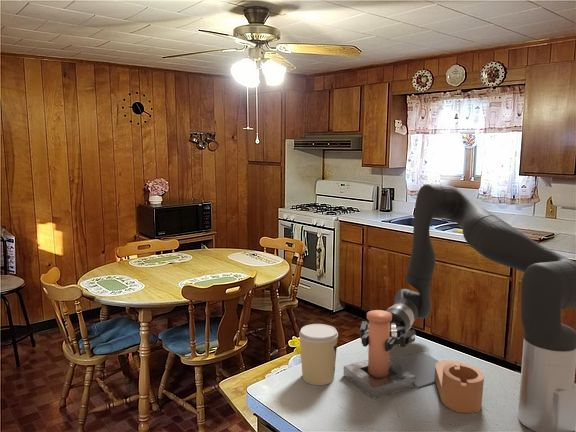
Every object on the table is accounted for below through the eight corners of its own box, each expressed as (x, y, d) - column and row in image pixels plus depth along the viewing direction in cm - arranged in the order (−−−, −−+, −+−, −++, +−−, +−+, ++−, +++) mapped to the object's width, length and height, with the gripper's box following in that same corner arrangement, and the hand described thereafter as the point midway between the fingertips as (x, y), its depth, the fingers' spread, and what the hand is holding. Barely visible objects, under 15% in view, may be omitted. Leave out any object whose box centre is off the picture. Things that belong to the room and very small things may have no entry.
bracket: (485, 414, 95) (488, 384, 94) (444, 410, 96) (446, 380, 95) (467, 372, 113) (469, 346, 111) (432, 369, 114) (433, 343, 113)
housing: (414, 386, 107) (415, 376, 106) (373, 398, 101) (373, 388, 101) (382, 365, 117) (382, 355, 117) (343, 375, 112) (343, 365, 112)
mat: (461, 374, 112) (461, 373, 112) (417, 388, 106) (418, 386, 106) (421, 352, 124) (421, 351, 124) (380, 363, 118) (380, 362, 118)
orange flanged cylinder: (395, 377, 107) (397, 316, 105) (376, 382, 105) (377, 320, 103) (380, 367, 112) (381, 308, 110) (361, 372, 110) (361, 312, 108)
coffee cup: (344, 383, 108) (344, 334, 107) (307, 390, 105) (308, 340, 104) (327, 366, 117) (328, 321, 115) (293, 372, 114) (293, 326, 112)
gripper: (370, 303, 123) (346, 323, 108) (424, 311, 116) (406, 335, 101) (370, 330, 124) (346, 353, 109) (423, 340, 117) (405, 367, 102)
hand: (375, 344), depth 105 cm, fingers closed on orange flanged cylinder, 4 cm apart
